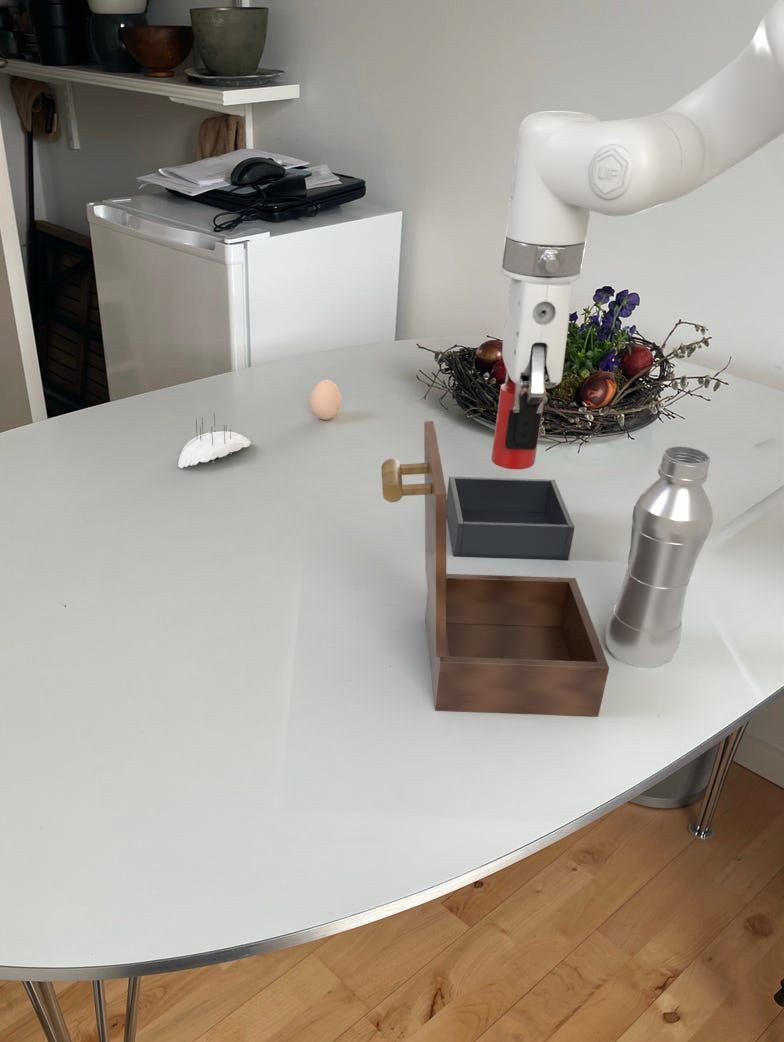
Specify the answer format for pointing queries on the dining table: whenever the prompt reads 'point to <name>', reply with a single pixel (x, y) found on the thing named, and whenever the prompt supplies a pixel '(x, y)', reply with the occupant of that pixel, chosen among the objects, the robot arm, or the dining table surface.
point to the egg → (325, 400)
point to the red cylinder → (500, 452)
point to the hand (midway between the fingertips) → (516, 436)
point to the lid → (427, 523)
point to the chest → (517, 648)
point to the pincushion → (211, 446)
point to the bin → (508, 519)
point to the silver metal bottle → (661, 561)
